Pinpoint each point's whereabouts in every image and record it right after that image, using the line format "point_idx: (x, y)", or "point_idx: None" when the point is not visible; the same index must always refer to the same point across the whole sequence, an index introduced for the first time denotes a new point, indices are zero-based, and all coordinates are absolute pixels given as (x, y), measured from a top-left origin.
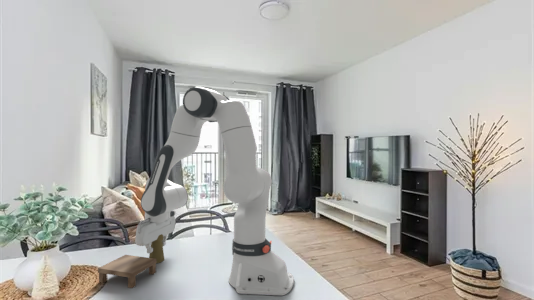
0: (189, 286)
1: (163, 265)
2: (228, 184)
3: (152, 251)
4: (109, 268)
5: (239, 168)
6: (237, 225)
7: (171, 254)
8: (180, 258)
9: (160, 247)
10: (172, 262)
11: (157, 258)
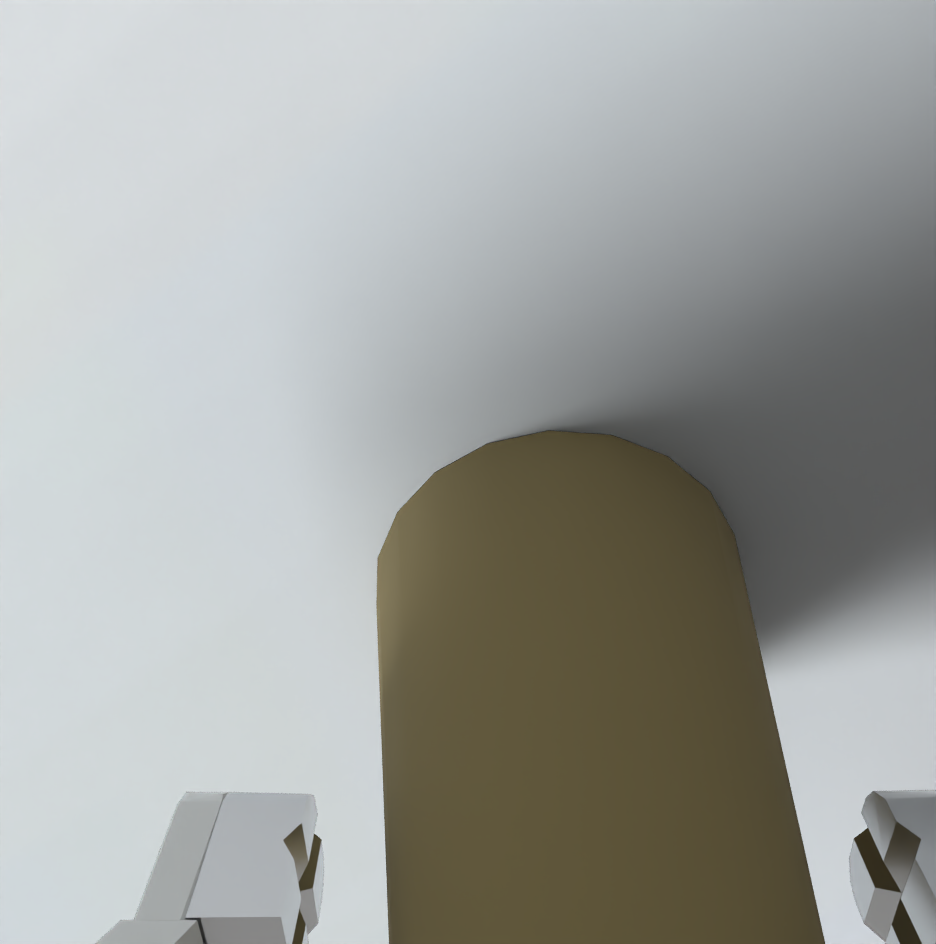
0: None
1: (811, 245)
2: None
3: (921, 806)
4: None
5: None
6: None
7: (110, 488)
8: (213, 47)
9: (660, 763)
10: (564, 113)
11: (712, 555)
